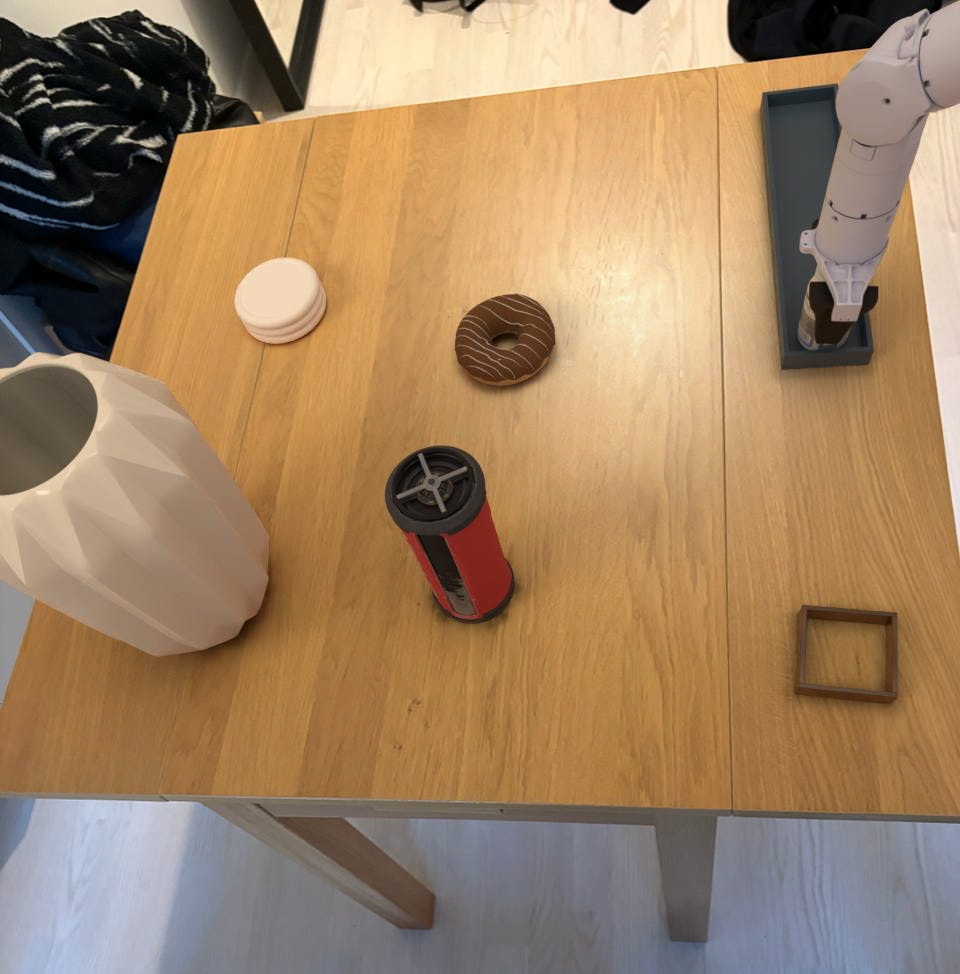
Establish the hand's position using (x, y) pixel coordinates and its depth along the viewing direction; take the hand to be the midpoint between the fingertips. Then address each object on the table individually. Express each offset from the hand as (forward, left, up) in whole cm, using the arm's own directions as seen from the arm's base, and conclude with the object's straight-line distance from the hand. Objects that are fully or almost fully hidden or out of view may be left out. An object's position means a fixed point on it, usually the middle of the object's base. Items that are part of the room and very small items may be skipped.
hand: (827, 317), depth 78 cm
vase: (+65, +10, -3) cm, 66 cm away
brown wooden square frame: (+10, +32, -3) cm, 34 cm away
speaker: (+39, +17, -3) cm, 42 cm away
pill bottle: (0, 0, -2) cm, 3 cm away
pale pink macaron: (+53, -24, -3) cm, 58 cm away
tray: (-4, -14, -3) cm, 15 cm away
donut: (+30, -9, -3) cm, 32 cm away
